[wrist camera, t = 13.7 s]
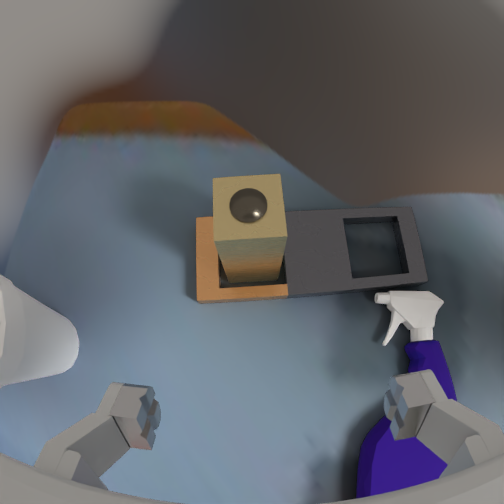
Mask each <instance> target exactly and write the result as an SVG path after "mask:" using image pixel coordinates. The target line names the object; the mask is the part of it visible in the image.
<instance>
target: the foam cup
mask: <svg viewBox="0 0 504 504" xmlns="http://www.w3.org/2000/svg"><path fill="white" fill-rule="evenodd" d="M78 351H79V339H78V335H77V331H76V328H75V327H74V326H73V324H72V323H71V321H70V320H69V319H67V318H66V317H64V316H62V315H61V314H59V313H57V312H56V311H54V310H52V309H51V308H49V307H47V306H45V305H44V304H42V303H41V302H39V301H37V300H36V299H34V298H32V297H31V296H29V295H28V294H26V293H25V292H23V291H21V290H20V289H18V288H17V287H15V286H14V285H13V283H12V281H10V280H9V279H7V278H5V277H4V276H2V275H0V388H1V387H2V386H4V385H9V384H14V383H19V382H24V381H29V380H33V379H38V378H43V377H47V376H52V375H56V374H60V373H64V372H65V371H67V370H68V369H70V368H71V367H72V366H73V364H74V362H75V361H76V359H77V357H78Z"/></svg>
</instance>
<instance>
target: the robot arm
mask: <svg viewBox="0 0 504 504" xmlns="http://www.w3.org/2000/svg"><path fill="white" fill-rule="evenodd" d="M388 385H389V388H390V389H389V390H388V391H387V392H386V393H385V397H384V411H385V414H386V417H387V418H388V419H389V420H391V421H392V422H391V425H390V429H391V432H392V435H393V438H394V440H395V441H396V440H401V439H406V438H411V437H416V436H417V437H416V438H417V439H418V440H419V441H421V442H422V443H423V444H424V445H425V446H426V447H428V448H429V449H430V450H431V451H432V452H434V453H435V454H436V455H437V456H438V457H440V458H441V459H442V460H443V461H444V462H445V463H447V464H448V465H447V467H446V468H445V470H444V471H443V472H442V474H441V475H440V477H439V479H435V480H432V481H429V482H426V483H422V484H419V485H415V486H412V487H408V488H404V489H400V490H396V491H392V492H387V493H383V494H378V495H373V496H368V497H363V498H357V499H351V500H345V501H338V502H330V503H322V504H504V434H503V432H502V431H501V429H500V427H499V425H498V424H496V423H494V422H492V421H490V420H489V419H487V418H485V417H483V416H481V415H480V414H478V413H476V412H474V411H473V410H471V409H469V408H467V407H465V406H464V405H462V404H460V403H458V402H457V401H455V400H453V399H448V398H447V396H446V394H445V392H444V391H443V389H442V387H441V385H440V384H439V382H438V380H437V378H436V377H435V375H434V373H433V372H432V370H430V369H428V370H423V371H418V372H412V373H407V374H402V375H396V376H392V377H391V378H390V380H389V383H388ZM154 396H155V392H154V389H153V387H151V386H143V385H134V384H126V383H125V384H124V383H116V382H112V383H111V384H110V385H109V387H108V389H107V391H106V393H105V395H104V397H103V399H102V401H101V403H100V405H99V407H98V409H97V411H96V413H91V414H90V415H88V416H86V417H85V418H83V419H82V420H80V421H79V422H77V423H76V424H74V425H72V426H71V427H69V428H68V429H66V430H65V431H63V432H61V433H60V434H58V435H57V436H55V437H54V438H52V439H50V440H49V441H47V442H46V443H45V445H44V447H43V449H42V451H41V453H40V455H39V457H38V459H37V461H36V463H35V465H34V467H33V466H30V465H28V464H25V463H23V462H21V461H18V460H16V459H14V458H11V457H9V456H7V455H5V454H3V453H0V504H183V503H174V502H167V501H160V500H154V499H148V498H142V497H137V496H131V495H127V494H122V493H117V492H113V491H109V490H108V488H107V487H106V485H105V484H104V483H103V482H102V481H101V480H100V478H99V477H100V476H101V475H102V474H103V473H104V472H105V471H107V470H108V469H109V468H110V467H111V466H112V465H113V464H114V463H115V462H116V461H117V460H118V459H120V458H121V457H122V456H123V455H124V454H125V453H126V452H127V451H128V450H129V449H130V448H138V449H146V450H152V448H153V444H154V441H155V437H156V435H155V433H154V430H155V429H156V428H157V427H159V424H160V419H161V410H160V405H159V403H158V401H156V400H155V399H154ZM129 447H130V448H129Z"/></svg>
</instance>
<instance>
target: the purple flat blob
mask: <svg viewBox="0 0 504 504" xmlns="http://www.w3.org/2000/svg"><path fill="white" fill-rule="evenodd" d="M375 303H379V304H387V308H388V309H389V310H390V311H391V321H390V325H389V328H388V331H387V334H386V337H385V339H384V341H383V343H382V345H383V346H386V345H387V343H388V342H389V340H390V339H391V338H392V336H393V335H394V333H395V331H396V329H397V328H398V326H399V324H400V323H403V324H404V325H405V326H406V328H407V329H408V330H410V338H411V342H410V343H408V344H407V345H406V346H405V347H404V348H405V351H406V353H407V355H408V357H409V359H410V364H409V368H408V372H409V373H412V372H418V371H423V370H428V369H430V370H432V372H433V373H434V375H435V377H436V378H437V380H438V382H439V384H440V385H441V387H442V389H443V391H444V392H445V394H446V396H447V398H448V399H453V400H455V401H457V399H456V395H455V390H454V386H453V382H452V379H451V375H450V372H449V369H448V366H447V363H446V360H445V357H444V355H443V352H442V349H441V346H440V343H439V341H436V340H433V328H432V327H434V325H435V317H436V314H437V312H438V309H439V308H440V307H441V306H442V305H443V303H444V301H443V300H441V299H440V298H438V297H437V296H436V295H434V294H433V293H431V292H430V291H388V292H387V293H376V294H375ZM391 422H392V421H391V420H389V419H388V418H387V417H386V415H385V416H384V417H383V418H382V419H381V420H380V421H379V422H378V423H377V424H376V425H375V426H374V427H373V428H372V429H371V430H370V431H369V432H368V434H367V436H366V438H365V440H364V441H363V444H362V446H361V449H360V456H359V463H358V472H357V493H356V499H357V498H363V497H368V496H373V495H378V494H383V493H387V492H392V491H396V490H400V489H404V488H408V487H412V486H415V485H419V484H422V483H426V482H429V481H432V480H435V479H439V477H440V475H441V474H442V472H443V471H444V470H445V468H446V467H447V465H448V464H447V463H445V462H444V461H443V460H442V459H441V458H440V457H438V456H437V455H436V454H435V453H434V452H432V451H431V450H430V449H429V448H428V447H426V446H425V445H424V444H423V443H422V442H421V441H419V440H418V439H417V438H416V437H417V436H416V437H411V438H406V439H401V440H396V441H395V440H394V438H393V435H392V432H391V429H390V425H391Z"/></svg>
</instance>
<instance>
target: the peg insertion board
mask: <svg viewBox="0 0 504 504" xmlns="http://www.w3.org/2000/svg"><path fill="white" fill-rule="evenodd" d="M285 219H286V228H287V241H286V245H285V250H284V254H283V262H284V273H285V284H280V285H265V286H250V287H234V288H221V280H220V257H219V254H218V252H217V249H216V246H215V243H214V233H213V216H212V217H199V218H196V277H197V301H198V302H199V303H200V304H203V303H222V302H240V301H256V300H270V299H284V298H297V297H309V296H321V295H332V294H343V293H353V292H363V291H372V290H381V289H390V288H399V287H407V286H416V285H422V284H424V283H426V282H427V281H428V278H427V273H426V268H425V263H424V258H423V253H422V248H421V244H420V239H419V235H418V231H417V227H416V223H415V219H414V215H413V211H412V207H383V208H353V209H328V210H307V211H288V212H285ZM381 222H392V224H393V228H394V233H395V237H396V242H397V247H398V252H399V257H400V262H401V267H402V273H403V274H396V275H386V276H376V277H365V278H354V279H352V273H351V266H350V260H349V253H348V247H347V241H346V235H345V229H344V224H359V223H381Z"/></svg>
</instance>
